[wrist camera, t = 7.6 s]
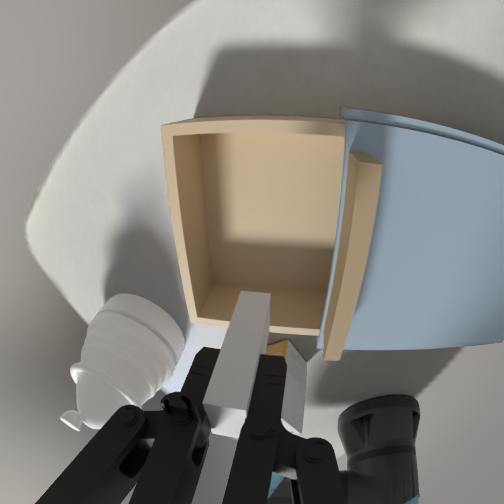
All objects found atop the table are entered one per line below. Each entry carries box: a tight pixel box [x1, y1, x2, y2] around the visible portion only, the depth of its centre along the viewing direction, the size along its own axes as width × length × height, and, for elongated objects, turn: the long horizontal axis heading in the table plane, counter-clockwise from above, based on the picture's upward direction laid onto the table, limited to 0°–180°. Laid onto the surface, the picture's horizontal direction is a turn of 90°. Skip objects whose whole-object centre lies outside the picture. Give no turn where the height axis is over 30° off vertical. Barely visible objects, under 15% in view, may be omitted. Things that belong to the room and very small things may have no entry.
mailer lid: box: [317, 107, 504, 361], centre depth 16 cm, size 19×22×6 cm
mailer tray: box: [161, 115, 345, 336], centre depth 22 cm, size 17×22×6 cm
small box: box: [265, 339, 307, 434], centre depth 30 cm, size 8×6×10 cm
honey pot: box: [60, 293, 185, 431], centre depth 29 cm, size 13×13×18 cm
